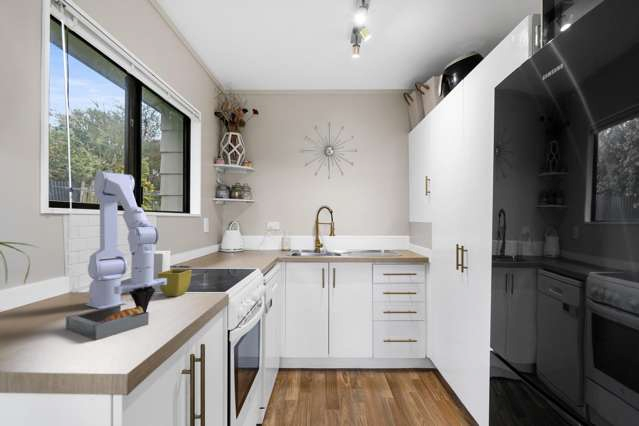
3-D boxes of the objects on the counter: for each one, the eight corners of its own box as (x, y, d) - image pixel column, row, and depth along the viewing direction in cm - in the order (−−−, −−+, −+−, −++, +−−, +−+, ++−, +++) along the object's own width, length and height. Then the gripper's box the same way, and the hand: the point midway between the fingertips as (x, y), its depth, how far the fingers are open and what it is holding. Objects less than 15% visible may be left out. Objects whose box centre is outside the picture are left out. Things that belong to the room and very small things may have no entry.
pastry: (109, 331, 79) (109, 316, 79) (98, 325, 83) (99, 311, 83) (147, 321, 86) (147, 307, 87) (136, 317, 90) (136, 304, 90)
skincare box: (154, 287, 128) (155, 250, 129) (170, 287, 129) (171, 250, 129) (144, 292, 120) (145, 252, 120) (162, 292, 121) (163, 252, 121)
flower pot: (156, 297, 113) (156, 272, 113) (171, 291, 122) (172, 269, 122) (178, 298, 111) (178, 273, 112) (191, 292, 120) (192, 269, 120)
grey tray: (65, 328, 80) (65, 316, 80) (117, 315, 92) (117, 304, 92) (96, 340, 73) (96, 326, 73) (148, 324, 84) (148, 312, 84)
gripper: (125, 272, 82) (123, 323, 82) (173, 265, 95) (172, 309, 95) (110, 269, 86) (109, 318, 85) (159, 263, 98) (158, 306, 98)
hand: (141, 313), depth 90 cm, fingers closed
